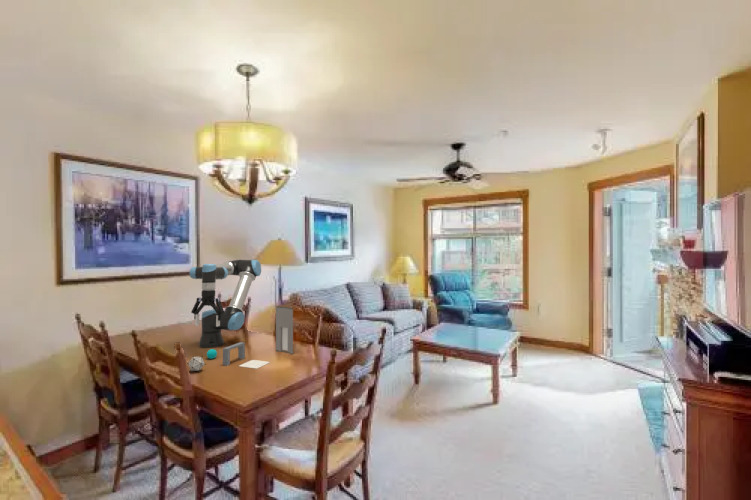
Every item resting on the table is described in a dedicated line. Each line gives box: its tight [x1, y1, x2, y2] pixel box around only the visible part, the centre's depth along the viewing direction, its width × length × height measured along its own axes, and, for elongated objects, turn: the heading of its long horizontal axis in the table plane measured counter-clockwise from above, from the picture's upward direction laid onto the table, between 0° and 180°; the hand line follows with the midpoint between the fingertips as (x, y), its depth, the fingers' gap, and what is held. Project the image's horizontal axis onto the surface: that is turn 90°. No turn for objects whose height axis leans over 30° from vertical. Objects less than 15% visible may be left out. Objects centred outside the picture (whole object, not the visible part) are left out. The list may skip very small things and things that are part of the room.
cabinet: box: [275, 302, 294, 355], centre depth 241 cm, size 21×10×28 cm, turn 17°
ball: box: [206, 348, 218, 360], centre depth 223 cm, size 6×6×6 cm
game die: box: [186, 355, 207, 373], centre depth 201 cm, size 9×8×10 cm
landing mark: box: [238, 359, 271, 370], centre depth 213 cm, size 12×12×1 cm
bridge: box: [222, 341, 246, 367], centre depth 218 cm, size 3×14×9 cm, turn 160°
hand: (207, 325), depth 227 cm, fingers open, 13 cm apart
